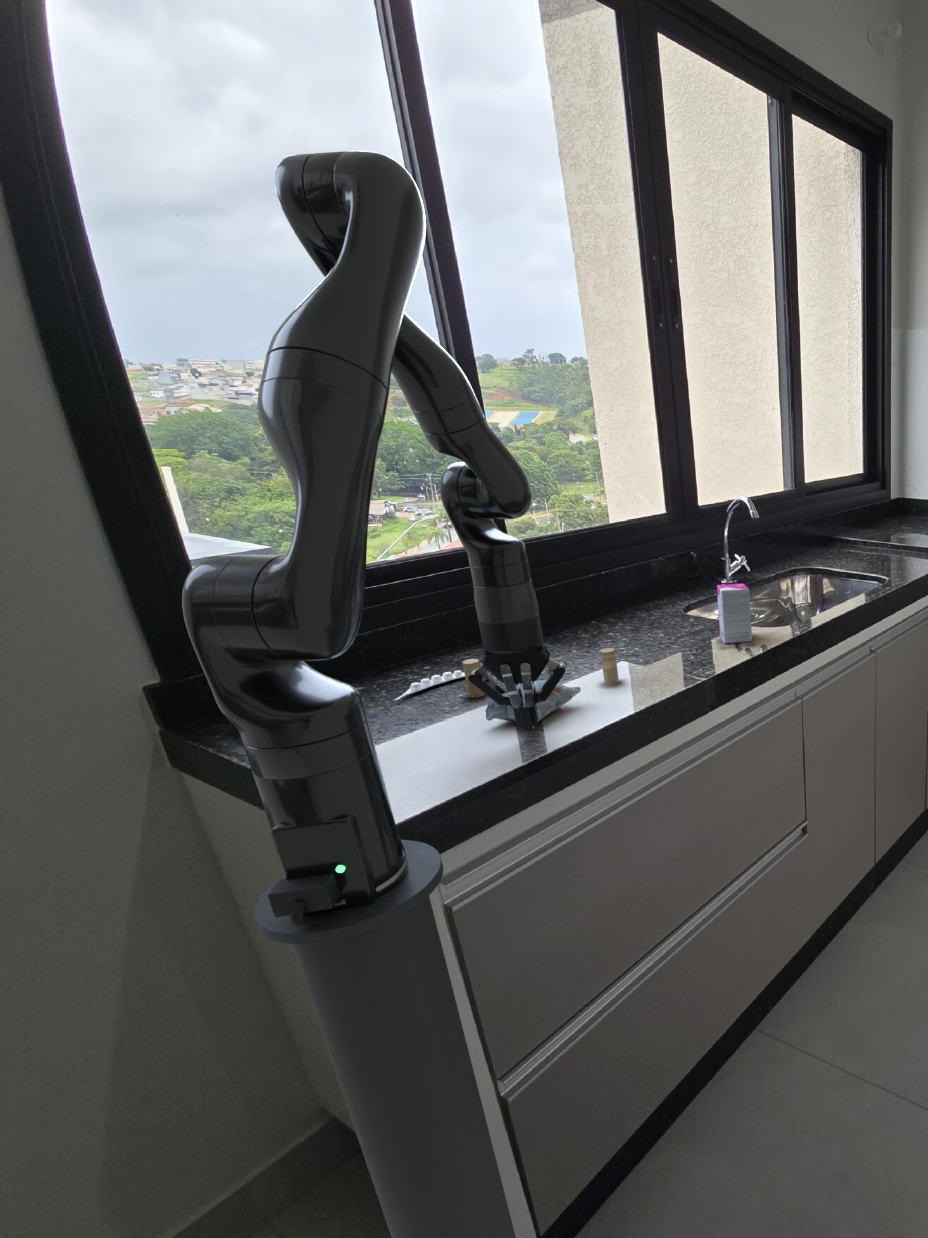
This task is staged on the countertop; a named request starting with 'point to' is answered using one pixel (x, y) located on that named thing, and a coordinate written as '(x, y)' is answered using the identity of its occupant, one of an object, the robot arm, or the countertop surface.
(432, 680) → the pea pod
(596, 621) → the countertop surface
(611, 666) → the marker peg right
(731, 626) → the supplement box
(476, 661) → the marker peg left
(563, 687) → the packaged food
